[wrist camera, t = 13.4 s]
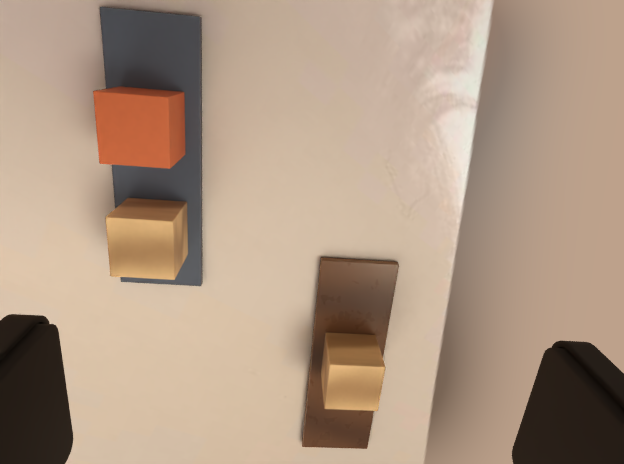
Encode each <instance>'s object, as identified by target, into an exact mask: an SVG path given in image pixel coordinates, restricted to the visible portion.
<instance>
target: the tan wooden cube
mask: <svg viewBox="0 0 624 464" xmlns="http://www.w3.org/2000/svg"><path fill="white" fill-rule="evenodd" d="M106 229H107V240H108V252H109V264H110V275H111V276H114V277H132V278H150V279H168V280H175V278H176V276H177V274H178V272H179V270H180V268H181V267H182V265H183V263H184V261H185V259H186V257H187V255H188V222H187V202H183V201H168V200H154V199H139V198H127V199H126V200H125V201H124V202H123V203H121V204H120V205H119V206H118V207H117V208H116V209H114V210H113V211H112V212H111V213H110V214H109V215H108V216H106Z"/></svg>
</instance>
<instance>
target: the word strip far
mask: <svg viewBox="0 0 624 464" xmlns="http://www.w3.org/2000/svg"><path fill="white" fill-rule="evenodd" d="M398 267H399V264H398V262H391V261H374V260H357V259H341V258H324V257H321V262H320V272H319V282H318V292H317V301H316V311H315V321H314V331H313V341H312V350H311V360H310V370H309V380H308V389H307V399H306V409H305V419H304V429H303V438H302V447H327V448H362V449H367V447H368V441H369V435H370V429H371V424H372V418H373V412H374V411H367V410H339V409H325V408H324V400H323V389H322V378H321V369H322V360H323V352H324V343H325V334H326V333H347V334H367V335H376V338H377V342H378V345H379V348H380V352H381V355H382V358H383V354H384V348H385V342H386V337H387V331H388V325H389V319H390V313H391V308H392V302H393V296H394V290H395V284H396V279H397V273H398Z"/></svg>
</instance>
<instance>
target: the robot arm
mask: <svg viewBox="0 0 624 464" xmlns="http://www.w3.org/2000/svg"><path fill="white" fill-rule="evenodd" d="M72 444H73V432H72V425H71V417H70V410H69V403H68V396H67V389H66V382H65V375H64V368H63V360H62V353H61V346H60V339H59V332H58V328H57V327H56V325H54V324H49V321H48V319H47V318H46V317H44V316H38V315H17V314H11V315H7V316H6V317H4V318H3V319H2V320H1V321H0V464H65V463H66V461H67V459H68V457H69V455H70V452H71V449H72ZM512 459H513V464H624V373H622V372H621V371H620V370H619V369H618V368H617V367H616V366H615V365H614V364H613V363H612V362H611V361H610V360H609V359H608V358H607V357H606V356H605V355H604V354H602V353H601V352H600V351H599V350H598V349H597V348H596V347H595V346H594V345H592V344H591V343H588V342H575V341H574V342H573V341H558V342H556V343H554V344H553V346H552V348H548V349H547V350H546V351H545V353H544V355H543V358H542V361H541V364H540V367H539V370H538V373H537V376H536V379H535V382H534V385H533V388H532V392H531V395H530V397H529V401H528V403H527V406H526V410H525V413H524V416H523V419H522V422H521V425H520V428H519V431H518V434H517V437H516V440H515V443H514V446H513V450H512Z"/></svg>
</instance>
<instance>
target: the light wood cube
mask: <svg viewBox="0 0 624 464" xmlns="http://www.w3.org/2000/svg"><path fill="white" fill-rule="evenodd" d="M384 372H385V365H384V361H383V358H382V355H381V352H380V348H379V345H378V342H377V338H376V335H367V334H347V333H326V334H325V343H324V352H323V360H322V369H321V378H322V389H323V400H324V408H325V409H339V410H367V411H377V410H378V406H379V400H380V395H381V389H382V383H383V378H384Z"/></svg>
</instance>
